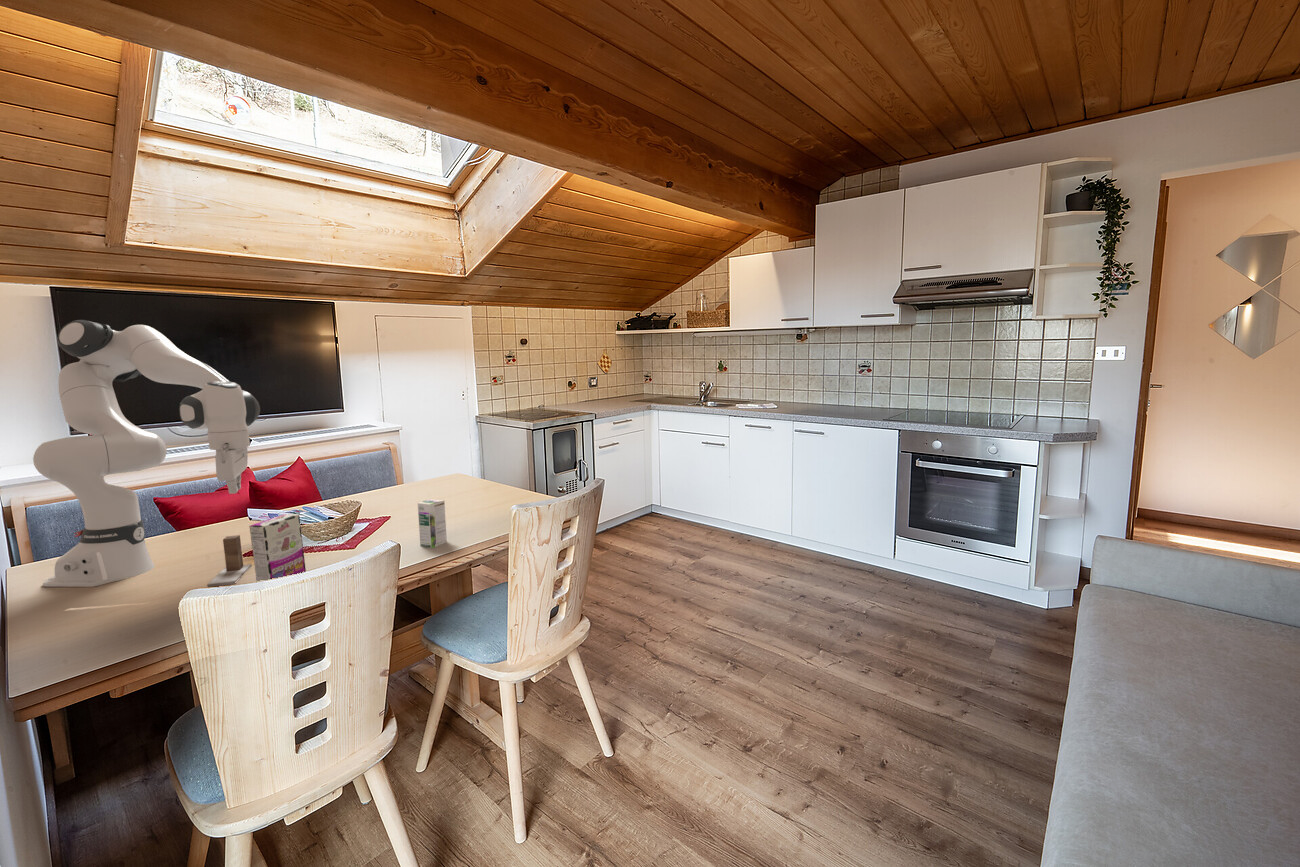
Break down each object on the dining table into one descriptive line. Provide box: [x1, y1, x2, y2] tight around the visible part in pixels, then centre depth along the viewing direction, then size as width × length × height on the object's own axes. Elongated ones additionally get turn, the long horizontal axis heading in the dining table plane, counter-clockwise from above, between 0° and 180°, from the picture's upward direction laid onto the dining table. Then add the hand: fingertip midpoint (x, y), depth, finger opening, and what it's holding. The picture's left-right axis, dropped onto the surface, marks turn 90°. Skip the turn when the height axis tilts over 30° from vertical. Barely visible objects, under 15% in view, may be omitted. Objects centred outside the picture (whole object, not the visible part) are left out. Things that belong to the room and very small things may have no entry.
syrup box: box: [417, 498, 448, 549], centre depth 171 cm, size 6×6×14 cm
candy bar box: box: [249, 513, 307, 582], centre depth 147 cm, size 11×5×16 cm, turn 168°
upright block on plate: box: [206, 534, 253, 588], centre depth 150 cm, size 14×6×10 cm, turn 21°
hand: (235, 491), depth 153 cm, fingers open, 3 cm apart
